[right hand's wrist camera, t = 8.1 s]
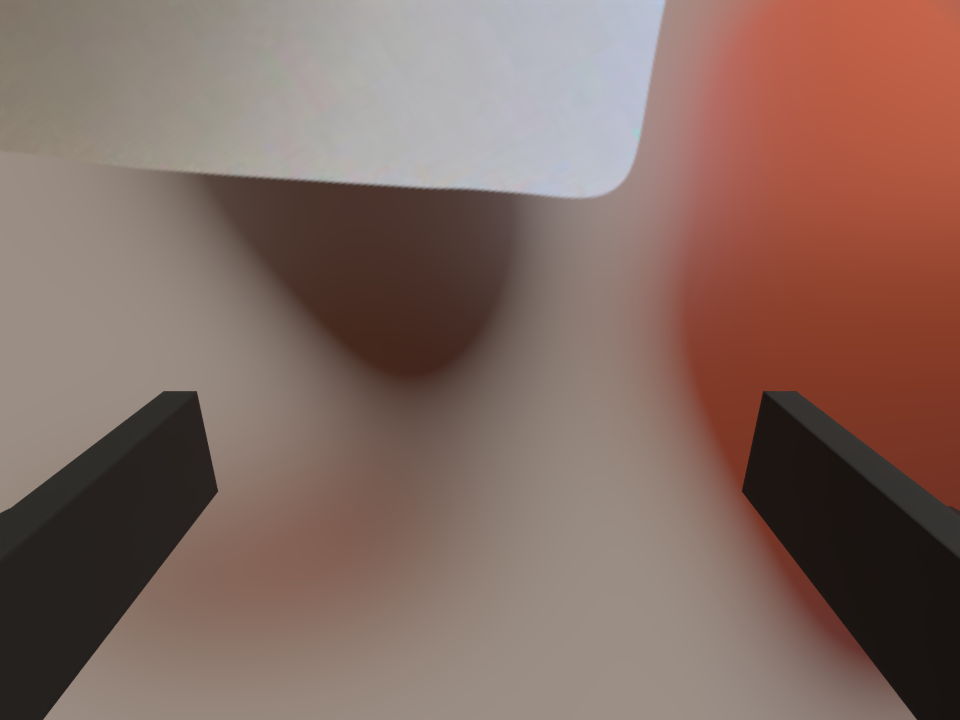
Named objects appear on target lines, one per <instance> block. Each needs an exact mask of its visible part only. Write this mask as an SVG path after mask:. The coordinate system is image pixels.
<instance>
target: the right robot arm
mask: <svg viewBox="0 0 960 720" xmlns="http://www.w3.org/2000/svg"><path fill="white" fill-rule="evenodd" d="M217 492H218V489H217V484H216V479H215V475H214V470H213V466H212V461H211V456H210V451H209V446H208V442H207V437H206V432H205V428H204V423H203V418H202V413H201V409H200V404H199V400H198V395H197V391H164V392H162V393H161V394H160V395H158V396H157V397H156V398H154V399H153V400H152V401H150V402H149V403H148V404H146V405H145V406H144V407H143V408H141V409H140V410H139V411H137V412H136V413H135V414H133V415H132V416H131V417H129V418H128V419H127V420H126V421H124V422H123V423H122V424H120V425H119V426H118V427H116V428H115V429H114V430H112V431H111V432H110V433H109V434H107V435H106V436H105V437H103V438H102V439H101V440H99V441H98V442H97V443H95V444H94V445H93V446H91V447H90V448H89V449H88V450H86V451H85V452H84V453H82V454H81V455H80V456H78V457H77V458H76V459H74V460H73V461H72V462H70V463H69V464H68V465H67V466H65V467H64V468H63V469H61V470H60V471H59V472H57V473H56V474H55V475H53V476H52V477H51V478H50V479H48V480H47V481H46V482H44V483H43V484H42V485H40V486H39V487H38V488H36V489H35V490H34V491H33V492H31V493H30V494H29V495H27V496H26V497H25V498H23V499H22V500H21V501H19V502H18V503H17V504H15V505H14V506H13V507H12V508H10V509H8V510H6V511H4V512H2V513H0V720H43V719H44V718H45V716H46V715H47V714H48V712H49V711H50V710H51V709H52V707H53V706H54V705H55V703H56V702H57V701H58V699H59V698H60V697H61V696H62V694H63V693H64V692H65V690H66V689H67V688H68V686H69V685H70V684H71V682H72V681H73V680H74V679H75V677H76V676H77V675H78V673H79V672H80V671H81V669H82V668H83V667H84V665H85V664H86V663H87V662H88V660H89V659H90V658H91V656H92V655H93V654H94V653H95V651H96V650H97V649H98V647H99V646H100V645H101V643H102V642H103V641H104V639H105V638H106V637H107V636H108V634H109V633H110V632H111V630H112V629H113V628H114V626H115V625H116V624H117V623H118V621H119V620H120V619H121V617H122V616H123V615H124V613H125V612H126V611H127V609H128V608H129V607H130V606H131V604H132V603H133V602H134V600H135V599H136V598H137V596H138V595H139V594H140V593H141V591H142V590H143V589H144V587H145V586H146V585H147V583H148V582H149V581H150V579H151V578H152V577H153V576H154V574H155V573H156V572H157V570H158V569H159V568H160V566H161V565H162V564H163V563H164V561H165V560H166V559H167V557H168V556H169V555H170V553H171V552H172V551H173V550H174V548H175V547H176V546H177V544H178V543H179V542H180V540H181V539H182V538H183V536H184V535H185V534H186V533H187V531H188V530H189V529H190V527H191V526H192V525H193V523H194V522H195V521H196V519H197V518H198V517H199V516H200V514H201V513H202V512H203V510H204V509H205V508H206V506H207V505H208V504H209V503H210V501H211V500H212V499H213V497H214V496H215V495H216V493H217ZM742 492H743V493H744V495H745V496H746V497H747V499H748V500H749V501H750V503H751V504H752V505H753V506H754V508H755V509H756V510H757V512H758V513H759V514H760V516H761V517H762V518H763V519H764V521H765V522H766V523H767V525H768V526H769V527H770V529H771V530H772V531H773V533H774V534H775V535H776V536H777V538H778V539H779V540H780V542H781V543H782V544H783V546H784V547H785V548H786V550H787V551H788V552H789V553H790V555H791V556H792V557H793V559H794V560H795V561H796V563H797V564H798V565H799V566H800V568H801V569H802V570H803V572H804V573H805V574H806V576H807V577H808V578H809V579H810V581H811V582H812V583H813V585H814V586H815V587H816V589H817V590H818V591H819V592H820V594H821V595H822V596H823V598H824V599H825V600H826V602H827V603H828V604H829V606H830V607H831V608H832V609H833V611H834V612H835V613H836V615H837V616H838V617H839V619H840V620H841V621H842V623H843V624H844V625H845V626H846V628H847V629H848V630H849V632H850V633H851V634H852V636H853V637H854V638H855V639H856V641H857V642H858V643H859V645H860V646H861V647H862V649H863V650H864V651H865V653H866V654H867V655H868V656H869V658H870V659H871V660H872V662H873V663H874V664H875V666H876V667H877V668H878V669H879V671H880V672H881V673H882V675H883V676H884V677H885V679H886V680H887V681H888V682H889V684H890V685H891V686H892V688H893V689H894V690H895V692H896V693H897V694H898V696H899V697H900V698H901V699H902V701H903V702H904V703H905V705H906V706H907V707H908V709H909V710H910V711H911V712H912V714H913V715H914V716H915V718H916V719H917V720H960V511H959V510H957V509H955V508H953V507H947V506H946V505H944V504H943V503H942V502H941V501H939V500H938V499H937V498H935V497H934V496H933V495H931V494H930V493H929V492H927V491H926V490H925V489H924V488H922V487H921V486H920V485H918V484H917V483H916V482H914V481H913V480H912V479H910V478H909V477H908V476H907V475H905V474H904V473H903V472H901V471H900V470H899V469H897V468H896V467H895V466H893V465H892V464H891V463H890V462H888V461H887V460H886V459H884V458H883V457H882V456H880V455H879V454H878V453H876V452H875V451H874V450H872V449H871V448H870V447H869V446H867V445H866V444H865V443H863V442H862V441H861V440H859V439H858V438H857V437H855V436H854V435H853V434H852V433H850V432H849V431H848V430H846V429H845V428H844V427H842V426H841V425H840V424H838V423H837V422H836V421H834V420H833V419H832V418H831V417H829V416H828V415H827V414H825V413H824V412H823V411H821V410H820V409H819V408H817V407H816V406H815V405H813V404H812V403H811V402H810V401H808V400H807V399H806V398H804V397H803V396H802V395H800V394H799V393H798V392H796V391H763V395H762V399H761V404H760V409H759V414H758V418H757V423H756V428H755V432H754V437H753V442H752V446H751V451H750V456H749V461H748V465H747V470H746V475H745V479H744V484H743V489H742Z"/></svg>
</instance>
